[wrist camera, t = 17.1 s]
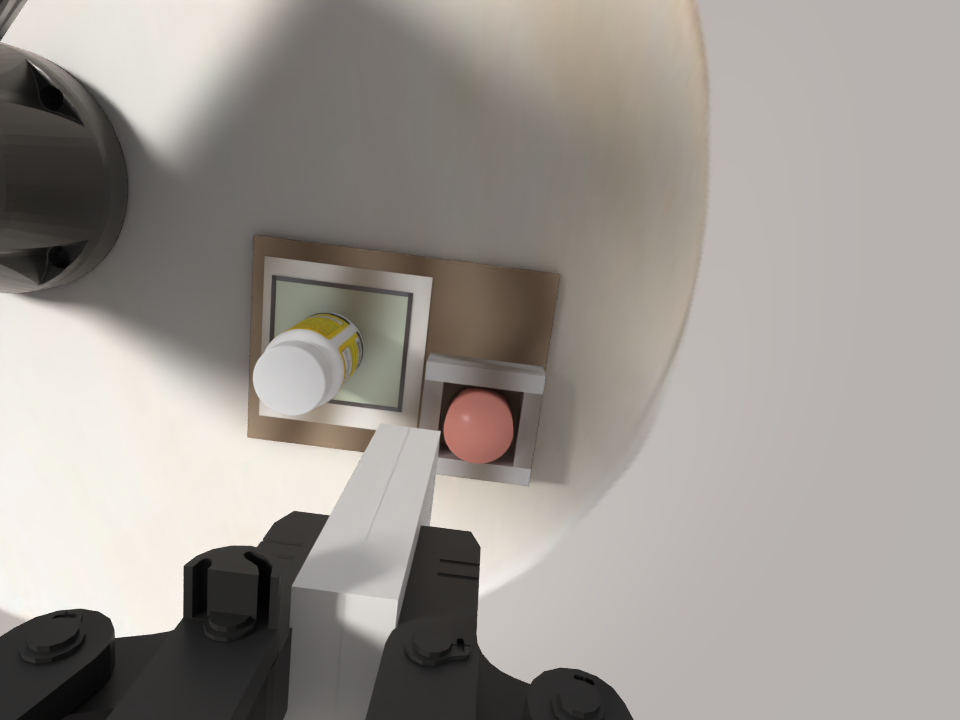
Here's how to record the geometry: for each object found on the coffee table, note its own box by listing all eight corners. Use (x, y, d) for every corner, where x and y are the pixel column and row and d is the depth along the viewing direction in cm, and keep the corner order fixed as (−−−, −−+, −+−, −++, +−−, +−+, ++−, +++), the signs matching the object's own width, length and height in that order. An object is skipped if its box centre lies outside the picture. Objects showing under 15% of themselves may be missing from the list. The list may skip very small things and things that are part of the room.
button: (444, 441, 41) (440, 459, 39) (451, 380, 40) (447, 393, 38) (507, 449, 42) (508, 467, 39) (516, 388, 40) (517, 402, 38)
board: (251, 433, 43) (232, 451, 40) (257, 235, 40) (237, 237, 37) (528, 468, 43) (531, 489, 40) (559, 273, 40) (564, 279, 37)
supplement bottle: (280, 337, 40) (226, 370, 32) (335, 296, 40) (292, 319, 32) (326, 393, 41) (283, 438, 33) (379, 354, 41) (350, 391, 32)
